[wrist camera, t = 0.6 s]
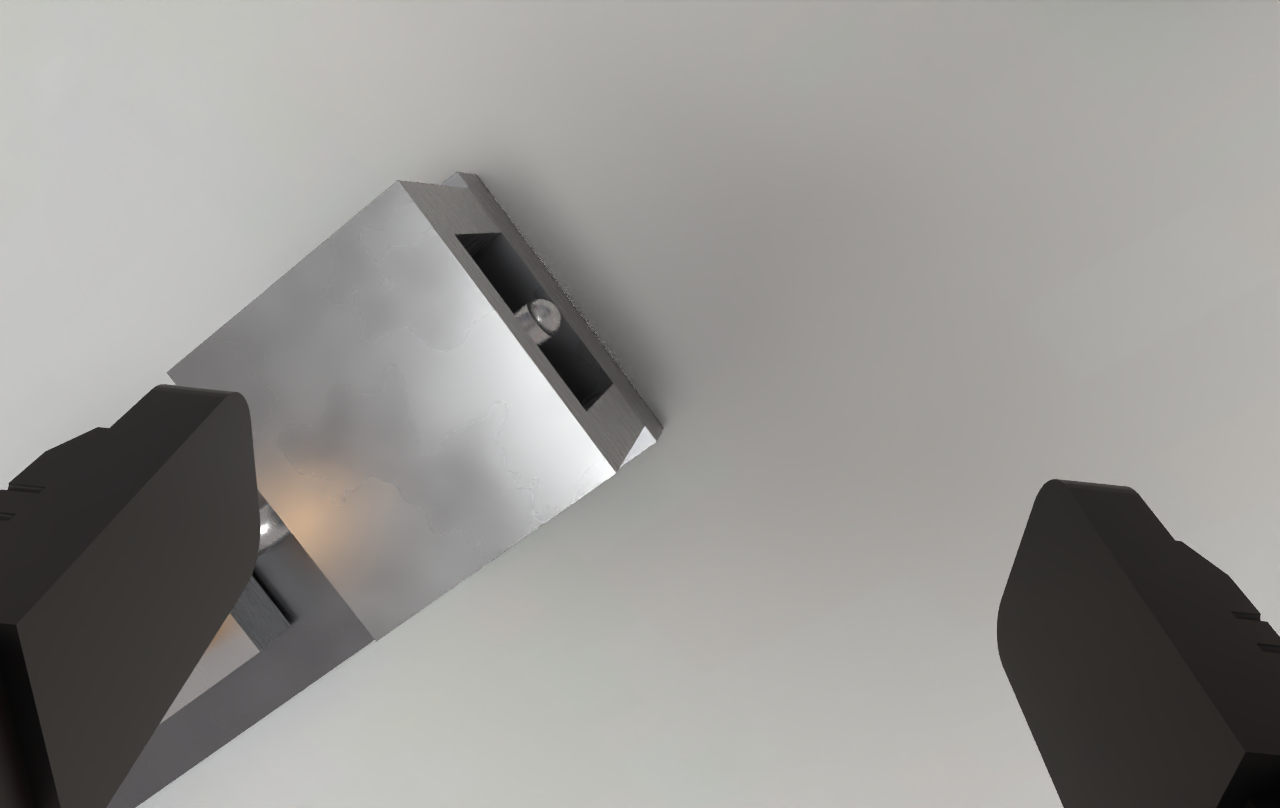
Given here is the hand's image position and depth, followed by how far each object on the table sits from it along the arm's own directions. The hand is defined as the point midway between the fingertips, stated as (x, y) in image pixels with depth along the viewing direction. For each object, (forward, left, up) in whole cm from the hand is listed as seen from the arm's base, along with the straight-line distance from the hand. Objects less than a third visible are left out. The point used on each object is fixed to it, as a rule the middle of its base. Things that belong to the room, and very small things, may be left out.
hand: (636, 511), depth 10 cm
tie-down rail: (+16, -12, -21) cm, 29 cm away
